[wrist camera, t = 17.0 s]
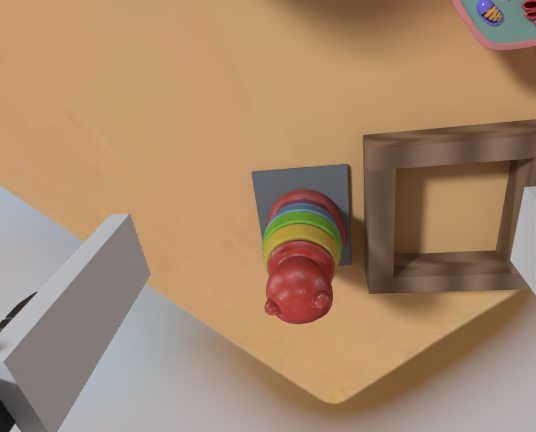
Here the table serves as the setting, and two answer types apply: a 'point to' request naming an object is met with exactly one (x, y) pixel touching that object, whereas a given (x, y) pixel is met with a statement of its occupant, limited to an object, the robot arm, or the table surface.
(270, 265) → the stacking bear
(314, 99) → the table surface
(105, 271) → the robot arm
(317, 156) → the table surface
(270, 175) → the rubber mat
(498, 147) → the square wooden frame
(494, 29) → the cell model
